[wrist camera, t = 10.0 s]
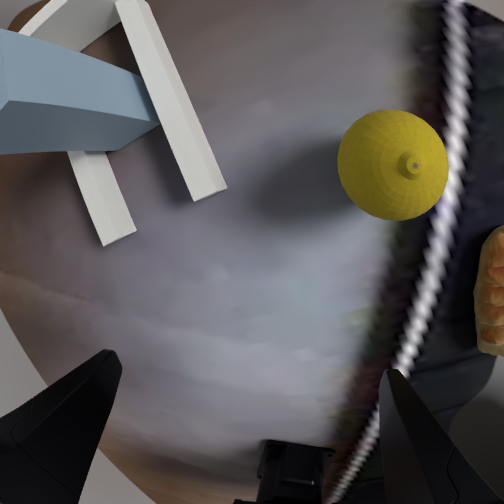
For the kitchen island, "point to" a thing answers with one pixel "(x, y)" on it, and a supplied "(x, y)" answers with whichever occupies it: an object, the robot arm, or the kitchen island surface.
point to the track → (161, 92)
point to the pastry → (490, 295)
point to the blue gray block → (67, 100)
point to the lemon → (392, 165)
